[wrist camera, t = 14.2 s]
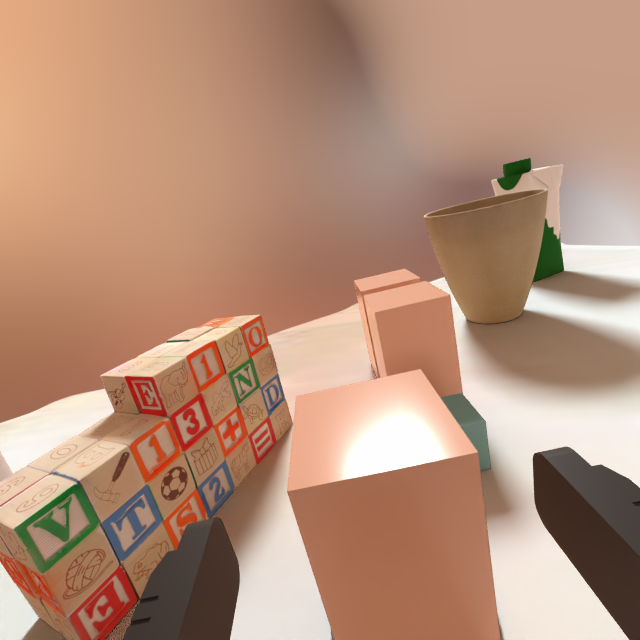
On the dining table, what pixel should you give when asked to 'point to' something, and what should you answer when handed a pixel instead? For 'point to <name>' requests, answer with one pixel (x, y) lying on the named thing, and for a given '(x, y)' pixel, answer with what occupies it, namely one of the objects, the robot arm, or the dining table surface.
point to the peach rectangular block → (378, 285)
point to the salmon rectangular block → (415, 334)
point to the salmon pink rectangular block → (392, 512)
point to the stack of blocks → (141, 473)
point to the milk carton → (546, 178)
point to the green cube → (470, 425)
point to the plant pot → (490, 252)
